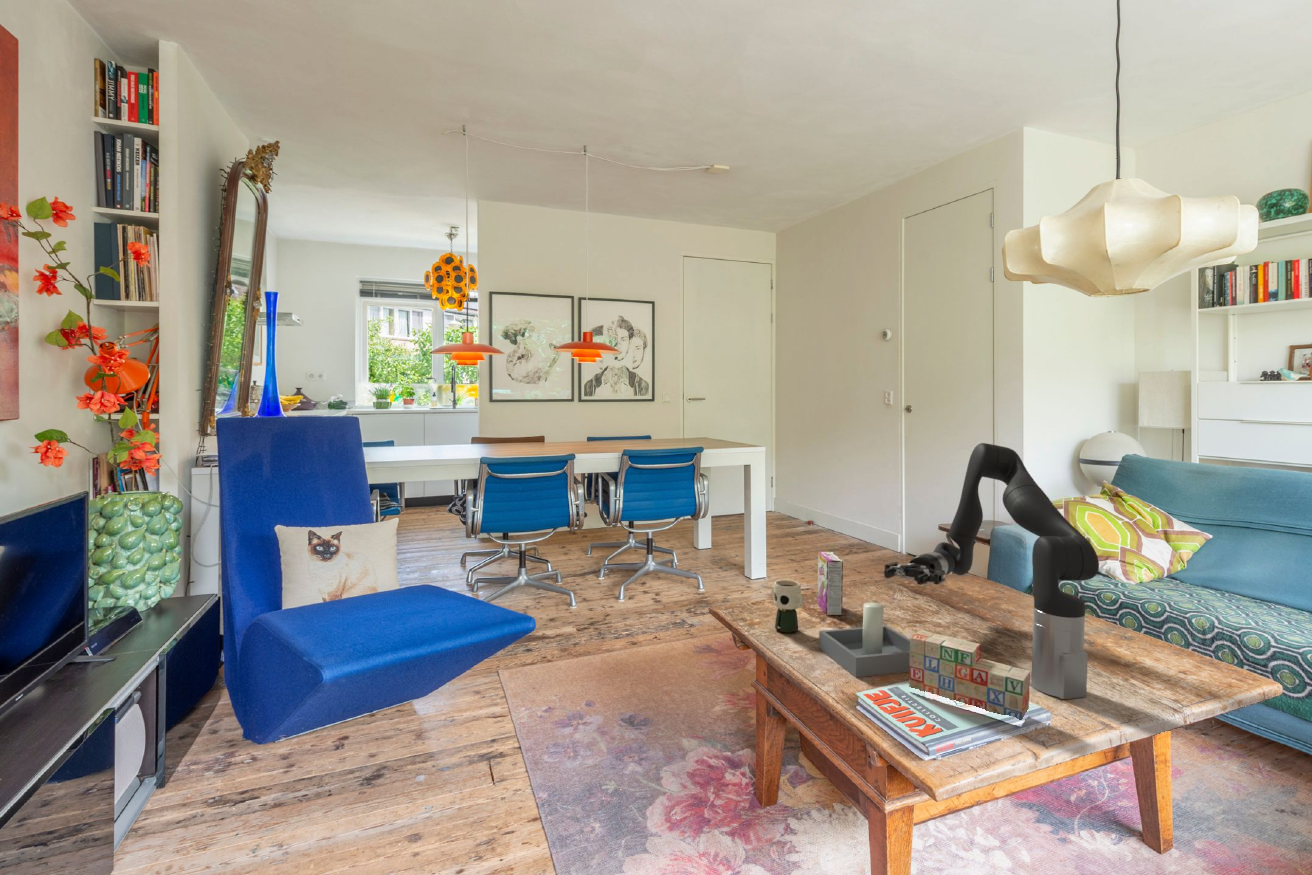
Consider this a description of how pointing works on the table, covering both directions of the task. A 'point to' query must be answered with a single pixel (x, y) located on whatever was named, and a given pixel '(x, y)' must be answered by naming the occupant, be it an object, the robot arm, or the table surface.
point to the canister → (872, 628)
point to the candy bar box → (830, 583)
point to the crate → (848, 654)
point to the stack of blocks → (967, 675)
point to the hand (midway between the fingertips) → (902, 577)
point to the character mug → (787, 604)
